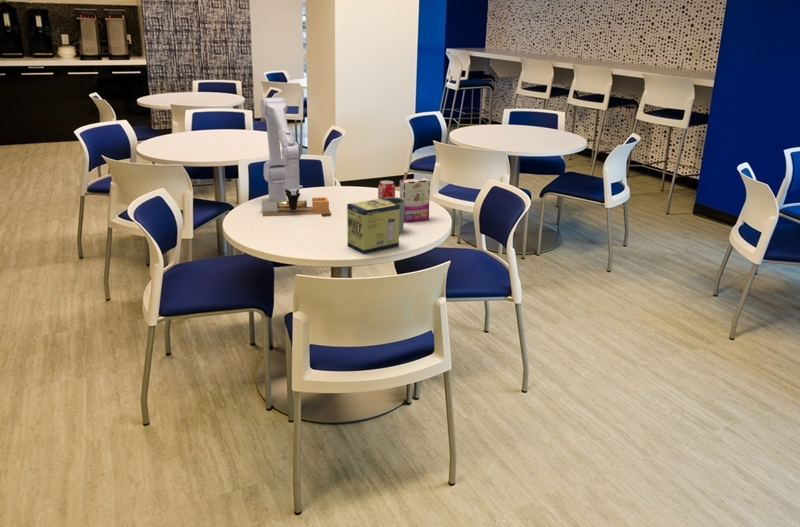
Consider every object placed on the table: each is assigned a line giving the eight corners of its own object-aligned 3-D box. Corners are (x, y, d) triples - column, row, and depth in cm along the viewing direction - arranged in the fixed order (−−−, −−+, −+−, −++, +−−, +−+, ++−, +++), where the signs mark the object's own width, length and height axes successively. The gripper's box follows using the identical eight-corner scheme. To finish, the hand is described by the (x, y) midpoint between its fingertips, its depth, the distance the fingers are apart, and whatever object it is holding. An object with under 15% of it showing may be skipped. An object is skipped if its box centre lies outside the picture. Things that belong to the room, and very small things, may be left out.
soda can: (374, 209, 285) (374, 181, 281) (388, 206, 290) (388, 179, 285) (384, 213, 280) (384, 184, 276) (398, 210, 284) (398, 182, 280)
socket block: (312, 208, 281) (312, 197, 280) (327, 207, 282) (326, 197, 281) (314, 212, 275) (313, 201, 274) (328, 212, 276) (328, 201, 275)
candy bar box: (424, 217, 276) (425, 177, 270) (429, 220, 272) (430, 180, 266) (398, 219, 272) (399, 179, 266) (403, 222, 268) (404, 182, 262)
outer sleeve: (262, 210, 276) (261, 199, 274) (277, 210, 277) (276, 198, 275) (262, 213, 272) (261, 202, 270) (277, 213, 273) (277, 201, 271)
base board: (261, 210, 280) (261, 208, 279) (327, 208, 285) (327, 206, 285) (262, 218, 269) (262, 216, 268) (331, 216, 274) (330, 213, 274)
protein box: (346, 246, 239) (346, 203, 234) (382, 238, 248) (383, 197, 243) (363, 254, 231) (363, 210, 226) (399, 246, 240) (400, 203, 235)
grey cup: (401, 235, 252) (402, 204, 248) (375, 233, 254) (375, 202, 250) (406, 228, 261) (407, 197, 257) (381, 226, 263) (381, 195, 259)
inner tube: (266, 208, 275) (266, 199, 274) (306, 207, 279) (306, 198, 278) (266, 210, 272) (266, 202, 271) (307, 209, 276) (306, 200, 274)
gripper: (303, 179, 265) (304, 212, 270) (300, 171, 279) (301, 203, 283) (285, 179, 264) (286, 213, 269) (283, 171, 277) (284, 203, 282)
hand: (293, 208), depth 276 cm, fingers closed on inner tube, 4 cm apart
